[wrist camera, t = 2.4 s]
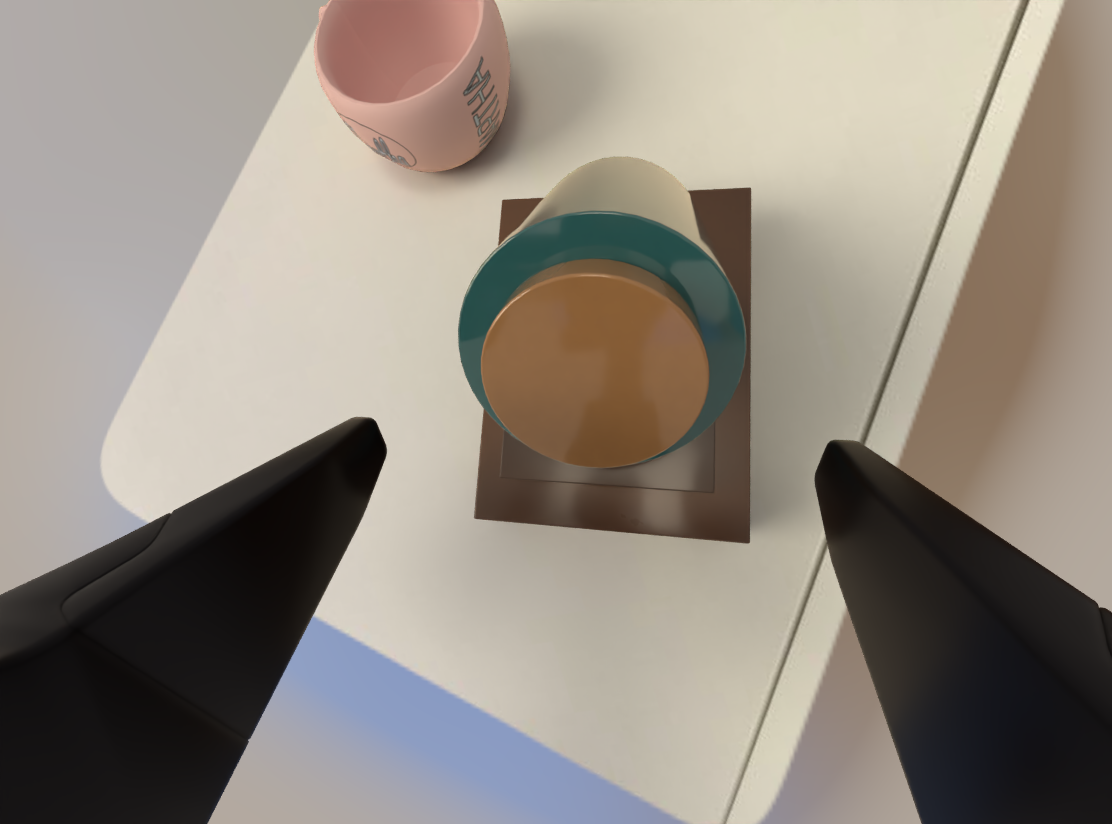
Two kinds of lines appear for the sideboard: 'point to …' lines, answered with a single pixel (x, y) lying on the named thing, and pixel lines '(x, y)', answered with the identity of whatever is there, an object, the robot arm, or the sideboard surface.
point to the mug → (416, 76)
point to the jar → (605, 320)
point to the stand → (656, 485)
